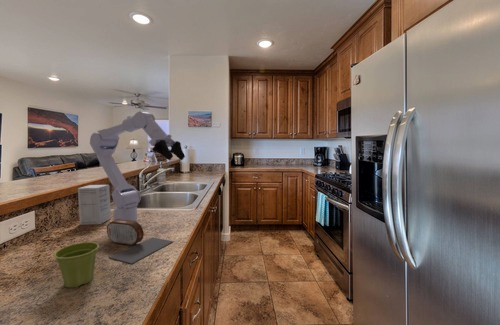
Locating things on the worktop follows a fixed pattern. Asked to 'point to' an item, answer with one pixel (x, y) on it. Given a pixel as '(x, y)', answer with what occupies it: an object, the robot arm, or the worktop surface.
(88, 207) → the supplement box
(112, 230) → the tin
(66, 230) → the worktop surface
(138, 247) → the mat
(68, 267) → the plant pot
